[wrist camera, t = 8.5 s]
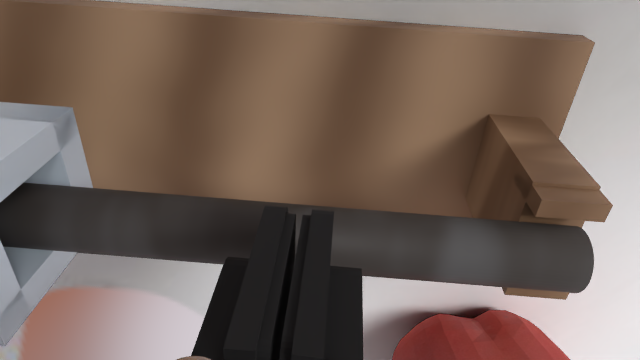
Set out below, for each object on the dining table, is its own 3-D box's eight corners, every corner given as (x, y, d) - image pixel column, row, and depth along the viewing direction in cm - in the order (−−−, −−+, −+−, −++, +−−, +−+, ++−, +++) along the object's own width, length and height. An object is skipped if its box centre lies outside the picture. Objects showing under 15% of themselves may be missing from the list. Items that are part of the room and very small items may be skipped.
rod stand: (582, 35, 17) (777, 148, 9) (507, 241, 22) (591, 420, 14) (-173, -19, 17) (-586, 45, 10) (-69, 195, 23) (-281, 345, 15)
